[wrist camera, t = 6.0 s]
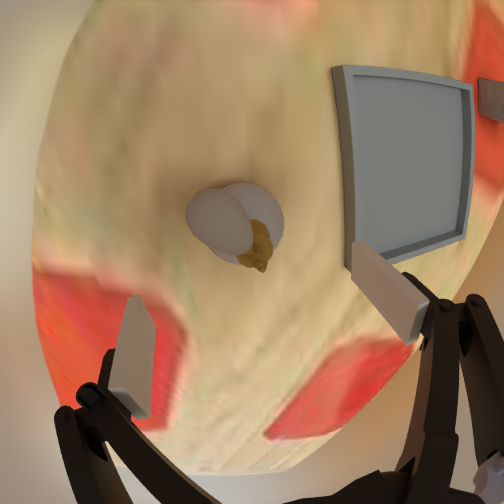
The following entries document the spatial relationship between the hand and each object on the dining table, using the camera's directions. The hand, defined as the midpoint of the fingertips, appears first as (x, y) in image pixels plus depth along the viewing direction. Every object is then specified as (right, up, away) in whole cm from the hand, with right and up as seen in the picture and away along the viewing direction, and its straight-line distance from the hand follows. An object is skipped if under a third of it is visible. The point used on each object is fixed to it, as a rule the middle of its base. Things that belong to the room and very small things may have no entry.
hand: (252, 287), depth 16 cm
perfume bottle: (-2, +7, +12) cm, 14 cm away
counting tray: (+21, +13, +13) cm, 28 cm away
